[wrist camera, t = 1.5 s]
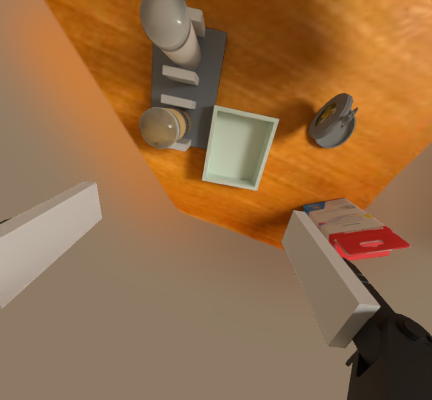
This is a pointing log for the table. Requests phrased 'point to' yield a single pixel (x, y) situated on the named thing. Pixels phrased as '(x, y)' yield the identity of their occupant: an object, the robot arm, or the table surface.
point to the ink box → (353, 230)
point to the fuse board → (191, 83)
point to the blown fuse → (165, 126)
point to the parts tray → (238, 147)
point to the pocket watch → (334, 122)
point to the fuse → (172, 31)
